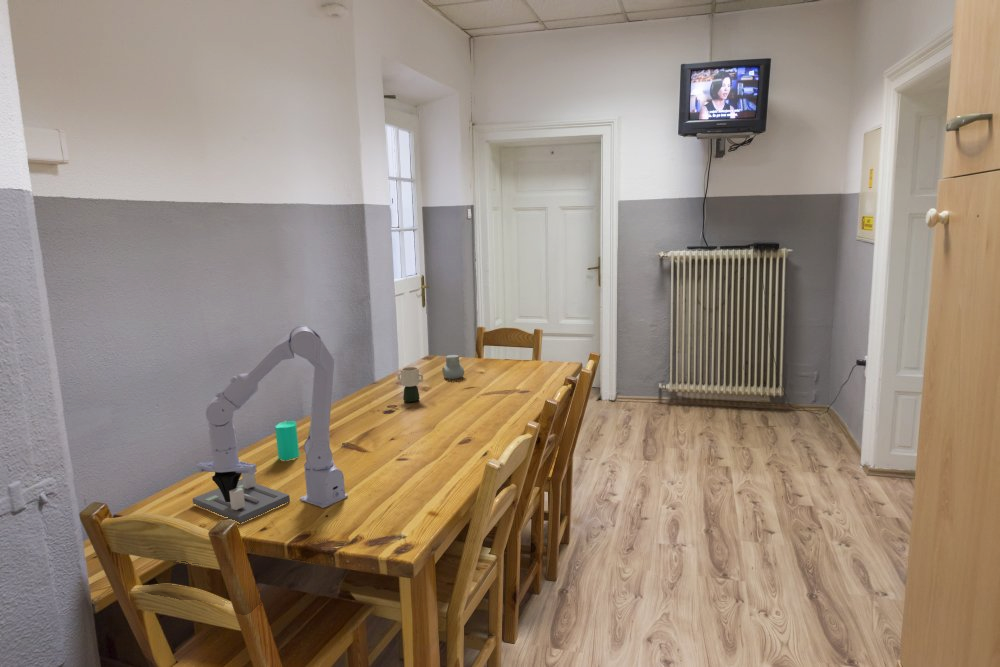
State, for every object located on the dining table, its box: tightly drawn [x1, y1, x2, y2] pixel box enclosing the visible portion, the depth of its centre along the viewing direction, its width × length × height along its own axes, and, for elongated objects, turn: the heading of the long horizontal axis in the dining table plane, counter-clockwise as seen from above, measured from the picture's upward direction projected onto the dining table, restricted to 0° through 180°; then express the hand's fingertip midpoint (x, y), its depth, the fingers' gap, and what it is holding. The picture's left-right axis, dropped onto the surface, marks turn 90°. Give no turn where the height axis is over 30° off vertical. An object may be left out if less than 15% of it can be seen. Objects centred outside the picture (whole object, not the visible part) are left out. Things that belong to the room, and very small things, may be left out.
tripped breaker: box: [229, 487, 245, 510], centre depth 153 cm, size 2×2×4 cm
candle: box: [274, 419, 300, 460], centre depth 191 cm, size 6×6×12 cm
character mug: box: [396, 366, 424, 403], centre depth 247 cm, size 11×7×13 cm, turn 71°
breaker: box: [241, 472, 257, 489], centre depth 165 cm, size 2×2×4 cm
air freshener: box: [441, 354, 465, 380], centre depth 282 cm, size 11×8×10 cm
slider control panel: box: [192, 478, 291, 525], centre depth 160 cm, size 20×14×3 cm
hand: (230, 500), depth 155 cm, fingers closed
